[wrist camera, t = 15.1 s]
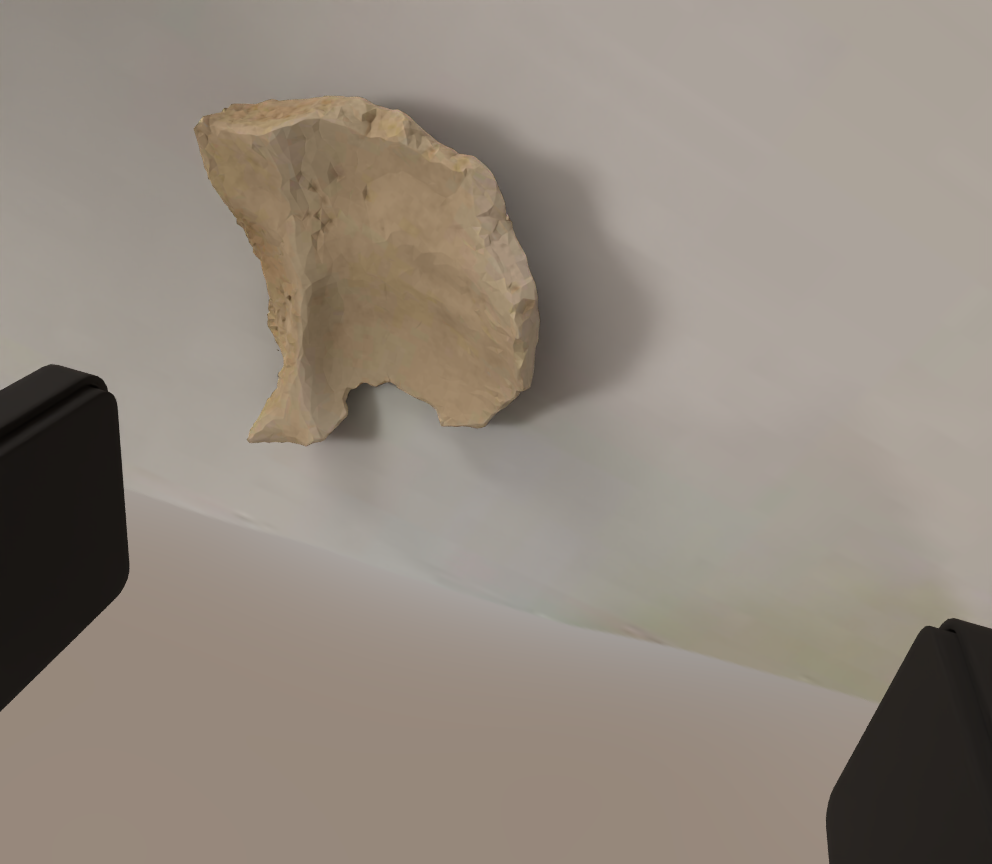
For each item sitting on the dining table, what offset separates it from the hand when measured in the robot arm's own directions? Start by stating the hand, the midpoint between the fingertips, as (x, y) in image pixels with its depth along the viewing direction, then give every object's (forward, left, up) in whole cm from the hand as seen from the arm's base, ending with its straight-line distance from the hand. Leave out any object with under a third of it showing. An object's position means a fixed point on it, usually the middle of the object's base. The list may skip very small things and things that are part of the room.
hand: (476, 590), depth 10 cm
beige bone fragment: (+12, +10, -31) cm, 34 cm away
